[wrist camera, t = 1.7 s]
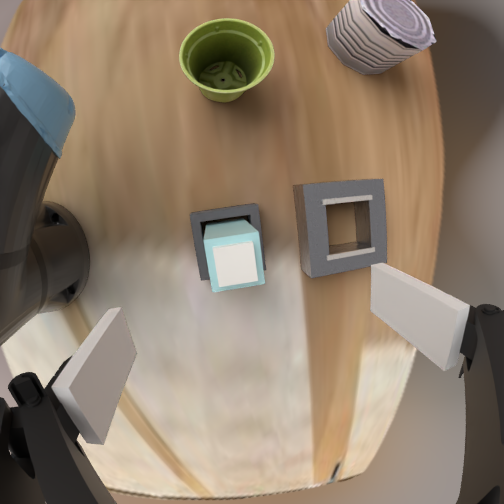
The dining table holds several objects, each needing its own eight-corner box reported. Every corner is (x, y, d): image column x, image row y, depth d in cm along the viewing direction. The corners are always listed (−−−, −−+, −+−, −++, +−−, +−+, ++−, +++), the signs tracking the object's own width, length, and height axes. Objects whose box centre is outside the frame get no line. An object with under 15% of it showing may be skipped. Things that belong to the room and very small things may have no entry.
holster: (201, 273, 35) (201, 280, 32) (191, 212, 33) (189, 214, 31) (261, 263, 36) (266, 270, 33) (254, 203, 34) (258, 204, 31)
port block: (301, 269, 37) (312, 278, 33) (292, 185, 34) (303, 184, 30) (371, 255, 38) (387, 263, 34) (367, 179, 36) (384, 178, 31)
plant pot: (274, 94, 32) (292, 68, 23) (209, 128, 32) (208, 109, 23) (236, 42, 29) (243, 7, 21) (172, 74, 29) (163, 42, 21)
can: (327, 67, 31) (369, 30, 20) (320, 10, 29) (352, -32, 17) (393, 83, 33) (444, 60, 21) (383, 28, 31) (424, -2, 19)
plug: (212, 258, 35) (212, 295, 23) (206, 223, 34) (203, 241, 22) (247, 253, 35) (266, 286, 23) (242, 217, 34) (260, 233, 22)
